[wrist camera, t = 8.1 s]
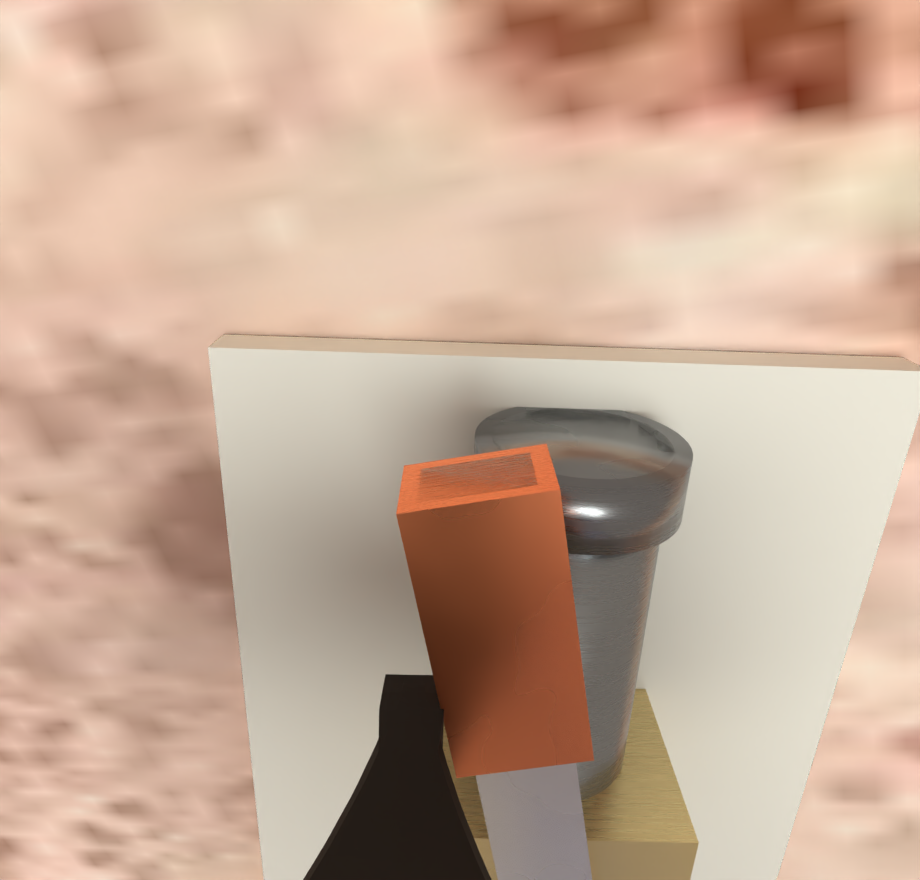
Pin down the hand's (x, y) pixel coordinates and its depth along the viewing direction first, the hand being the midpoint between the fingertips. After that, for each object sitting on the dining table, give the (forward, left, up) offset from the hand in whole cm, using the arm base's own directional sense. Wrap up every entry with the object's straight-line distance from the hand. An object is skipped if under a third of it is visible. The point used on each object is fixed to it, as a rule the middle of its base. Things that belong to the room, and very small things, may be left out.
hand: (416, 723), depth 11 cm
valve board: (-5, -3, -6) cm, 8 cm away
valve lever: (-1, -2, 0) cm, 2 cm away
